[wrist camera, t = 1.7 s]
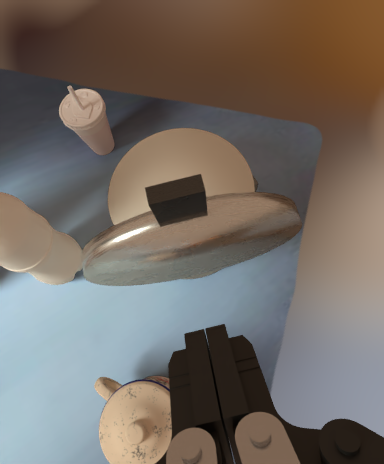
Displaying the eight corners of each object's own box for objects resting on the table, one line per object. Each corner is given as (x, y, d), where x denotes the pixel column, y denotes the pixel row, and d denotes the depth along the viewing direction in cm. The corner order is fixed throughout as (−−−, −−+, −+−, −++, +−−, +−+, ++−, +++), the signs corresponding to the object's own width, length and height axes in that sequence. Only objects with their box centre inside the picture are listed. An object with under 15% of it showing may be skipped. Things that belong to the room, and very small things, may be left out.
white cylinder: (105, 239, 52) (79, 216, 42) (173, 143, 56) (163, 102, 47) (208, 303, 48) (204, 292, 38) (273, 194, 52) (284, 160, 42)
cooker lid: (276, 242, 39) (280, 254, 39) (117, 281, 39) (120, 294, 39) (345, 133, 18) (356, 158, 18) (-2, 219, 18) (0, 246, 18)
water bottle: (33, 279, 51) (-130, 221, 27) (53, 235, 53) (-83, 144, 29) (77, 293, 50) (-54, 245, 26) (96, 247, 52) (-10, 163, 28)
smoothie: (95, 169, 56) (56, 114, 43) (77, 141, 58) (35, 80, 45) (129, 149, 56) (101, 88, 43) (111, 122, 58) (78, 56, 45)
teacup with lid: (206, 402, 44) (201, 420, 33) (165, 470, 42) (144, 514, 31) (131, 346, 47) (103, 346, 36) (89, 408, 45) (46, 428, 34)
